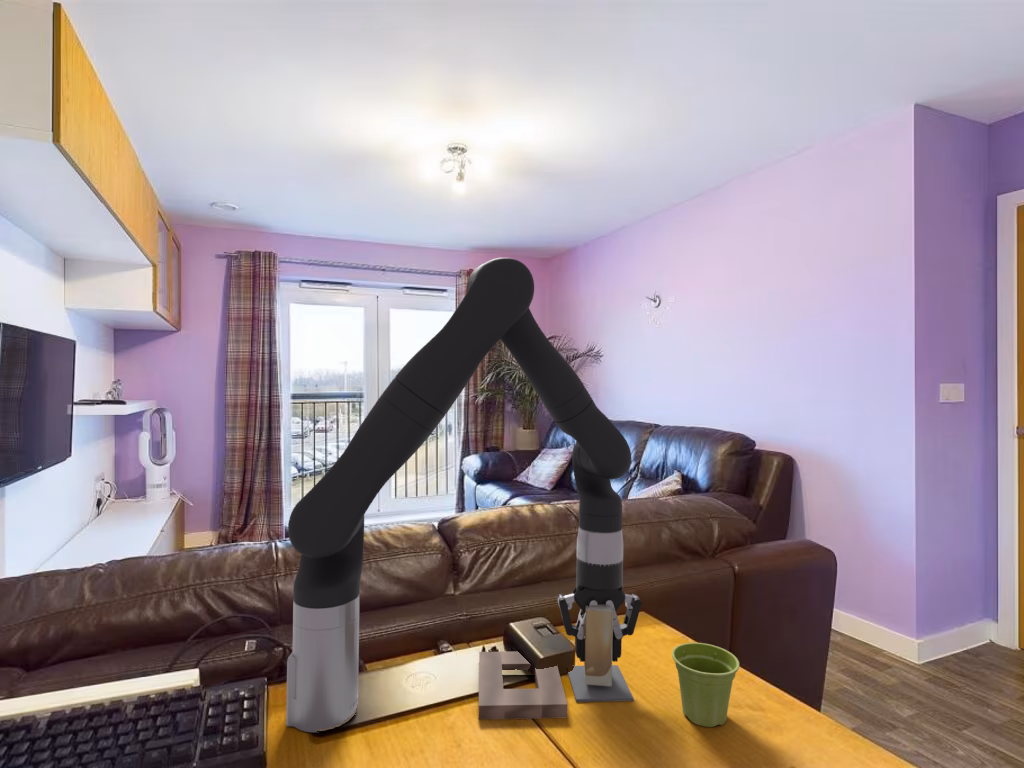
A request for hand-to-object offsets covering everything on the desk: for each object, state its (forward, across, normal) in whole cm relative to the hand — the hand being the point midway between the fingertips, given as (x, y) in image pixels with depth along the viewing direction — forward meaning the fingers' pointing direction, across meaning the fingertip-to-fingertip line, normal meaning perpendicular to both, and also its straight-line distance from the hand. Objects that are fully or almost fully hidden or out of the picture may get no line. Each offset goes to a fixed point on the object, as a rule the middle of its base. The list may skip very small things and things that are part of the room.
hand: (597, 658), depth 89 cm
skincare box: (+3, 0, 0) cm, 3 cm away
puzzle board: (+4, -13, -1) cm, 14 cm away
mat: (+4, 0, 0) cm, 4 cm away
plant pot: (+4, +14, -9) cm, 17 cm away
